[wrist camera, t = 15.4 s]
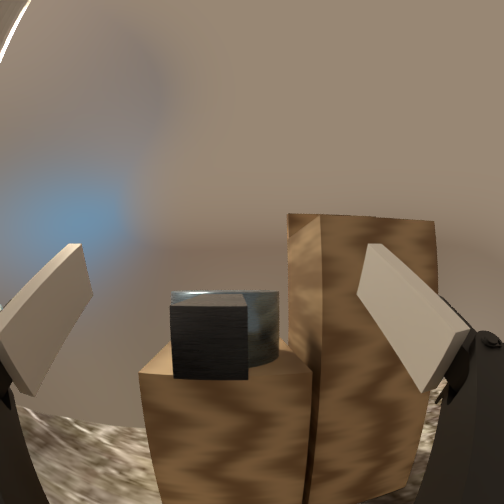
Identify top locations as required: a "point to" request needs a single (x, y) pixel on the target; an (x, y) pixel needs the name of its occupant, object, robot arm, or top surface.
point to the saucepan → (223, 332)
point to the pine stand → (301, 388)
